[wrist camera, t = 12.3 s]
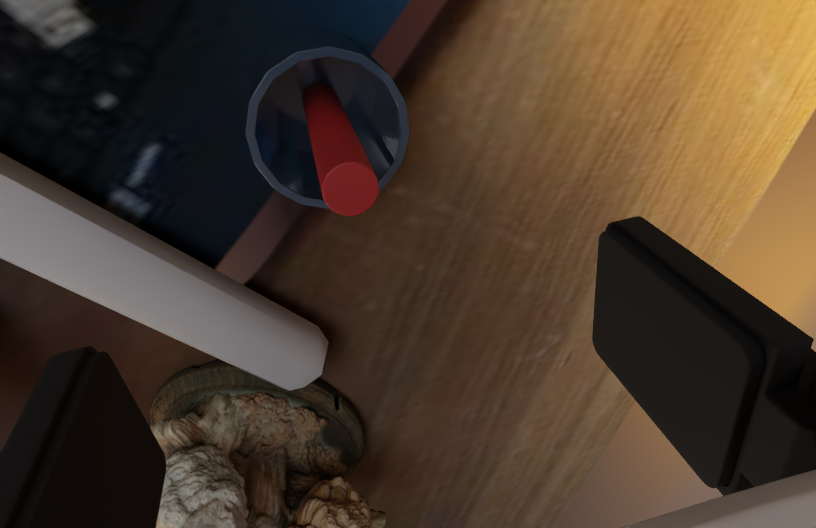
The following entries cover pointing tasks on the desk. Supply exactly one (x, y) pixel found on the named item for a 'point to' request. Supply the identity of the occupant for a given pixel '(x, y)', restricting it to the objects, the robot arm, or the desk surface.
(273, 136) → the tumbler
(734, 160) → the desk surface
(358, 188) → the red cylindrical rod
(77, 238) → the tube
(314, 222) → the desk surface
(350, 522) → the owl figurine
